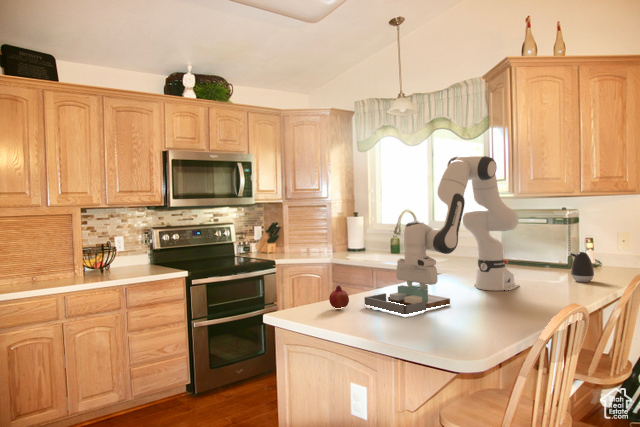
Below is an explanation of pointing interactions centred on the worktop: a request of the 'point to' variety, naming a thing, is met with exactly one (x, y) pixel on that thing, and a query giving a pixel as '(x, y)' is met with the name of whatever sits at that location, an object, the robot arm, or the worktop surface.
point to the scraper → (414, 291)
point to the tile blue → (398, 296)
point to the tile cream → (413, 299)
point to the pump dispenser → (582, 267)
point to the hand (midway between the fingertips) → (416, 292)
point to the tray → (393, 304)
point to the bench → (431, 302)
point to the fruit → (339, 298)
